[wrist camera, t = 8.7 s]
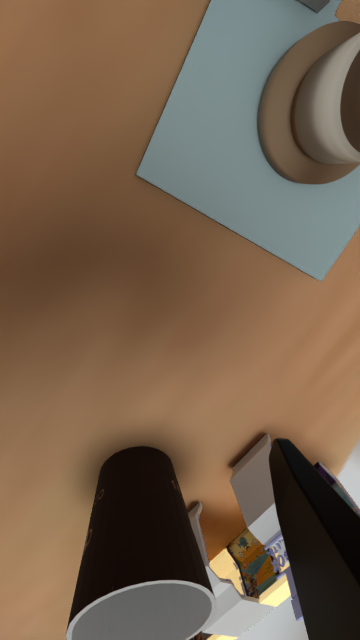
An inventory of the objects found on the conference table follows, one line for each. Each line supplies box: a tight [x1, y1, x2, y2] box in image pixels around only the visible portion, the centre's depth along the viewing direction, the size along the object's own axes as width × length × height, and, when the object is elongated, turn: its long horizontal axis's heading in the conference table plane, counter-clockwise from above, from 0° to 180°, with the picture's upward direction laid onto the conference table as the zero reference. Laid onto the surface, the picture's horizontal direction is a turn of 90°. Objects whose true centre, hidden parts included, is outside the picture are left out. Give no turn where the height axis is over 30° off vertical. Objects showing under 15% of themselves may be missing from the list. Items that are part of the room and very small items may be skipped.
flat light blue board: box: [136, 0, 360, 281], centre depth 17 cm, size 14×14×1 cm
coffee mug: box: [66, 447, 216, 640], centre depth 22 cm, size 12×9×10 cm
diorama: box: [188, 433, 360, 640], centre depth 26 cm, size 25×10×13 cm, turn 142°
